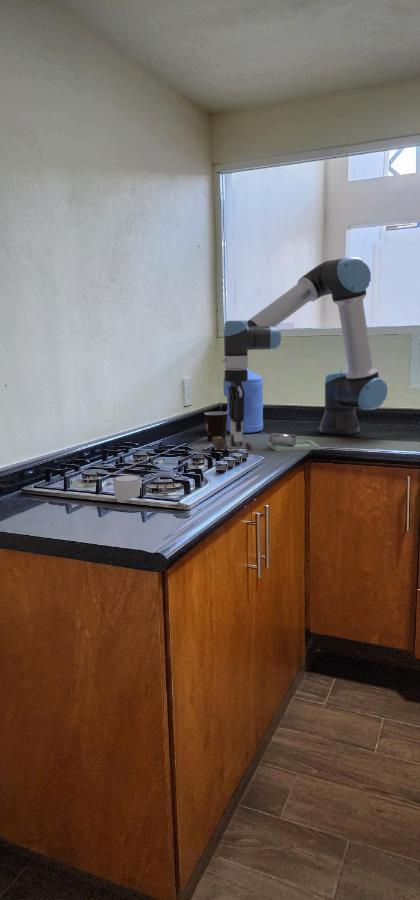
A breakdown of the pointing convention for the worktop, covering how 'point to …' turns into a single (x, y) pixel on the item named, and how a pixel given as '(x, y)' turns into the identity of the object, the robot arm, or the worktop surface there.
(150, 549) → the worktop surface
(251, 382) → the water jug
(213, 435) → the coffee mug
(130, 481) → the light grey cup
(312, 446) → the pale green tray
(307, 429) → the worktop surface
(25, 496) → the worktop surface
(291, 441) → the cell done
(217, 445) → the brown wooden stand
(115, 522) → the worktop surface
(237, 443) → the cell
